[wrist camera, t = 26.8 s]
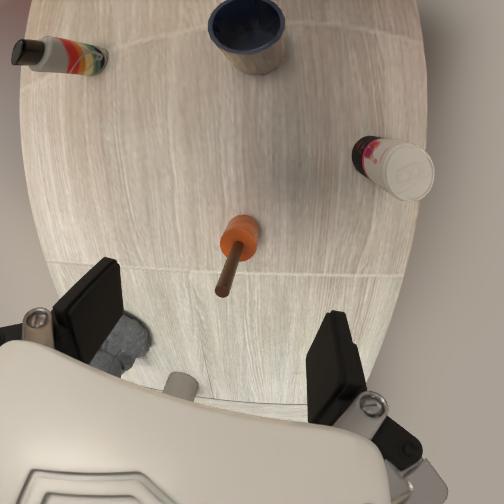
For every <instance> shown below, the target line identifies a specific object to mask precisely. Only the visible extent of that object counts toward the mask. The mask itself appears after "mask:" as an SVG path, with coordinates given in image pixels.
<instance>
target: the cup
mask: <svg viewBox="0 0 504 504" xmlns="http://www.w3.org/2000/svg"><path fill="white" fill-rule="evenodd" d="M197 389H198V382H197V381H196V380H195V379H194V378H193V377H191V376H190V375H188V374H185V373H181V372H174V373H171V374H170V375H169V377H168V380H167V382H166V385H165V387H164V390H163V392H162V393H164V394H167V395H170V396H174V397H177V398H181V399H184V400H188V401H191V402H194V399H195V395H196V392H197Z"/></svg>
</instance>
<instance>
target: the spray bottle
mask: <svg viewBox="0 0 504 504" xmlns="http://www.w3.org/2000/svg"><path fill="white" fill-rule="evenodd" d="M107 58H108V56H107V52H106V51H105V50H104V49H102V48H99V47H96V46H92V45H88V44H84V43H80V42H76V41H72V40H67V39H62V38H57V37H51V36H45V37H42V38H41V39H39V40H29V39H21V40H19V41H18V42H17V43H16V44H15V46H14V48H13V52H12V58H11V62H12V65H27V66H29V68H30V69H31V70H32V71H35V72H54V73H68V74H79V75H89V76H93V75H96V74H98V73H100V72H101V71H102V70H103V68H104V67H105V65H106V63H107Z"/></svg>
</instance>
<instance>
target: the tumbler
mask: <svg viewBox="0 0 504 504" xmlns="http://www.w3.org/2000/svg"><path fill="white" fill-rule="evenodd" d="M208 32H209V35H210V38H211V40H212V41H213V42H214V43H215V44H216V45H217V47H218V48H219V49H220V50H221V51H222V52H223V53H224V55H225V56H226V57H227V58H228V59H229V60H230V61H231V63H232V64H233V65H234V66H235V67H236V68H237V69H238V70H240V71H241V72H243V73H246V74H249V75H264V74H267V73H270V72H272V71H273V70H275V69H276V68H277V67H278V66H279V65H280V64H281V62H282V60H283V57H284V46H285V18H284V15H283V13H282V10H281V9H280V8H279V7H278V6H277V5H276V4H275V3H274V2H272V1H270V0H226V1H224V2H223V3H221V4H220V5H219V6H218V7H217V8H216V9H215V10H214V11H213V12H212V14H211V16H210V18H209V21H208Z"/></svg>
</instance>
